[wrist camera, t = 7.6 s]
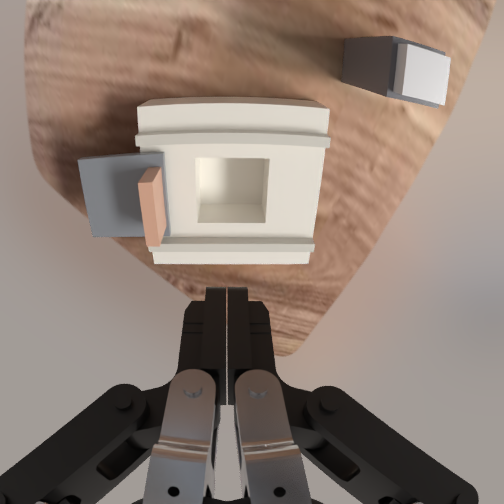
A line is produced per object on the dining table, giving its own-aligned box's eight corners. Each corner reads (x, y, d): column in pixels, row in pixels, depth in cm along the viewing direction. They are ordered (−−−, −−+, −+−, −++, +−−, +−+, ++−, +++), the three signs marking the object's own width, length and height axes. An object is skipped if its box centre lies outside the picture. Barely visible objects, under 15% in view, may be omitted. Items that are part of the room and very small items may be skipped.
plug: (344, 38, 22) (402, 35, 13) (387, 47, 22) (456, 53, 13) (341, 82, 24) (395, 100, 15) (382, 88, 24) (448, 112, 16)
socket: (150, 99, 24) (133, 109, 20) (316, 101, 25) (333, 111, 21) (161, 240, 32) (152, 270, 28) (300, 240, 33) (310, 270, 29)
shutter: (80, 157, 22) (60, 174, 19) (164, 151, 22) (153, 167, 19) (95, 233, 26) (80, 257, 23) (171, 232, 26) (163, 257, 23)
